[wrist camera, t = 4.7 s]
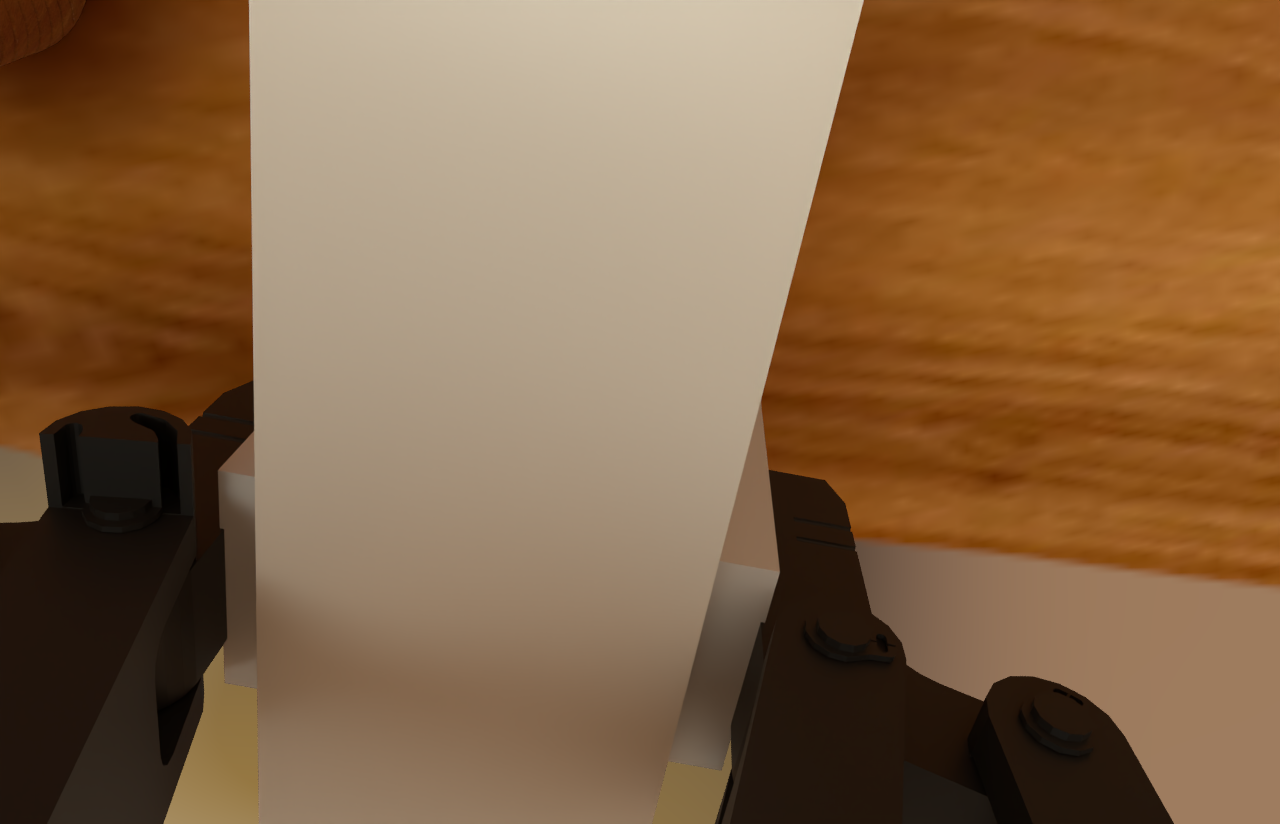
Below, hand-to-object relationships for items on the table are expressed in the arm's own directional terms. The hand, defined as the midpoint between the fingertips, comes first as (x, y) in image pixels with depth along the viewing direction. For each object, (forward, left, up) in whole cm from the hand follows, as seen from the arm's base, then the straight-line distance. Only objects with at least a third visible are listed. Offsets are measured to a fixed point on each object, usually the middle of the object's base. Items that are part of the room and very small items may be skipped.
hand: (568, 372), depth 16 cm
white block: (0, 0, -3) cm, 3 cm away
